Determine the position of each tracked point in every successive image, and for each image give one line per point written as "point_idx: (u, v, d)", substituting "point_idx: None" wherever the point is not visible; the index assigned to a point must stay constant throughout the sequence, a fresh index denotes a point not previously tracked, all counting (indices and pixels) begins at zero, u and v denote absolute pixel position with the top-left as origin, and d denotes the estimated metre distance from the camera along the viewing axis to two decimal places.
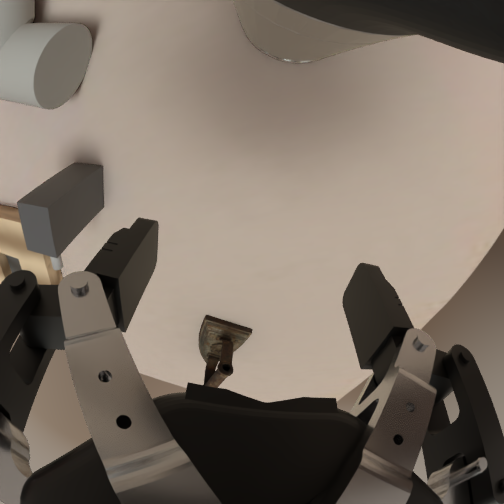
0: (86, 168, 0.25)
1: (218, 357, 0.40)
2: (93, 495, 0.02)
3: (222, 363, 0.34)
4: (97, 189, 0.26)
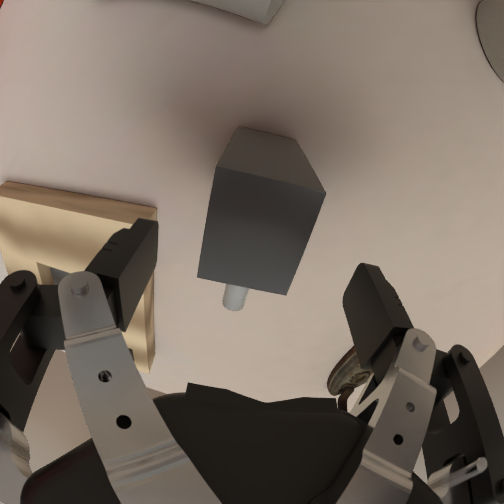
0: (278, 138, 0.17)
1: (354, 386, 0.32)
2: (93, 495, 0.02)
3: None
4: None
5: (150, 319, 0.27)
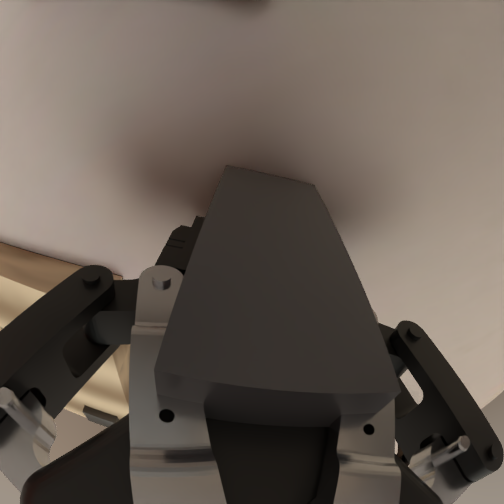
0: (288, 189, 0.11)
1: None
2: (93, 495, 0.02)
3: (401, 455, 0.19)
4: None
5: None
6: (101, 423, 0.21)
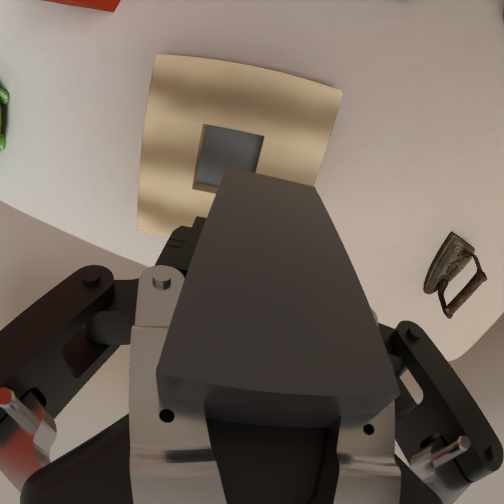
0: (289, 190, 0.11)
1: (447, 280, 0.35)
2: (93, 495, 0.02)
3: (479, 270, 0.29)
4: None
5: None
6: None
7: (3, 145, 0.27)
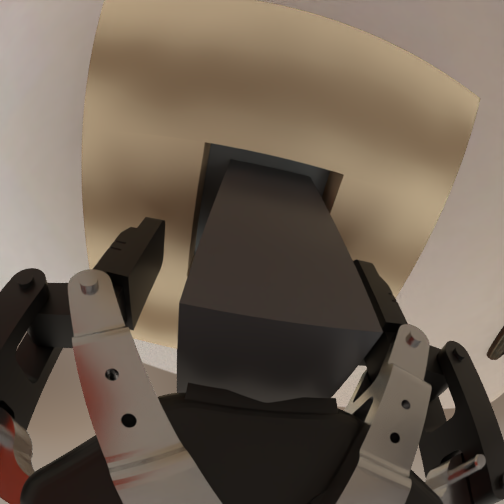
0: (287, 179, 0.12)
1: None
2: (93, 495, 0.02)
3: None
4: None
5: None
6: None
7: None
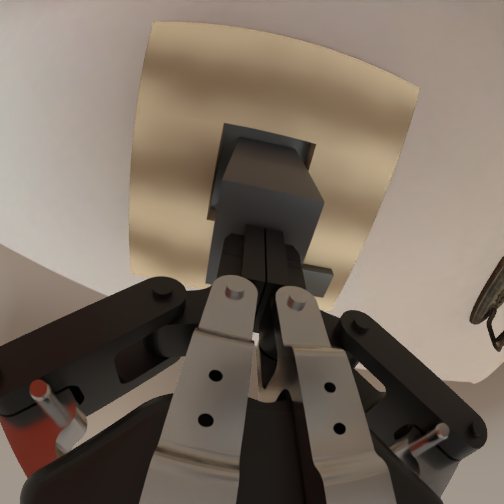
0: (278, 148, 0.18)
1: (496, 308, 0.27)
2: (93, 495, 0.02)
3: None
4: None
5: None
6: None
7: None
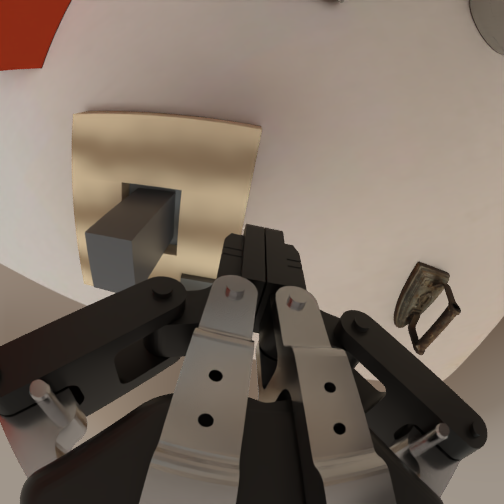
0: (157, 195, 0.25)
1: (419, 312, 0.34)
2: (93, 495, 0.02)
3: (451, 302, 0.27)
4: (170, 218, 0.26)
5: None
6: None
7: None
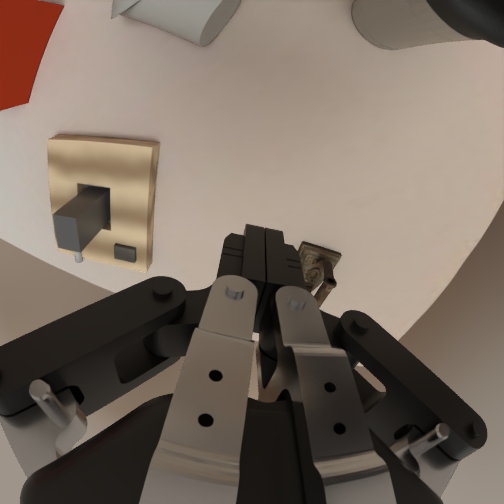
0: (98, 190, 0.36)
1: (311, 286, 0.45)
2: (93, 495, 0.02)
3: (326, 277, 0.38)
4: (107, 205, 0.37)
5: (150, 222, 0.40)
6: (123, 257, 0.40)
7: None
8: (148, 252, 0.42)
